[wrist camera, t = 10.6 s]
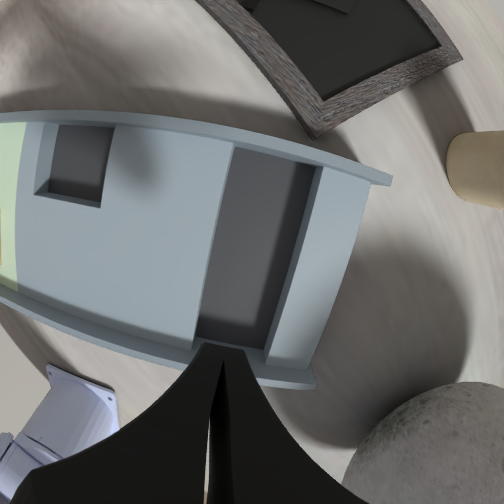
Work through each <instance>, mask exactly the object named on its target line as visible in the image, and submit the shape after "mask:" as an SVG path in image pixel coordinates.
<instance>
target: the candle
mask: <svg viewBox="0 0 504 504" xmlns="http://www.w3.org/2000/svg"><path fill="white" fill-rule="evenodd" d="M446 169H447V175H448V179H449V182H450V184H451V187H452V188H453V190H454V192H455V193H456V194H457V195H458V196H459V197H460V198H462V199H463V200H465V201H468V202H472V203H476V204H481V205H485V206H489V207H493V208H497V209H501V210H504V131H486V132H473V133H463V134H460V135H458V136H456V137H455V138H454V139H453V140H452V141H451V143H450V145H449V147H448V151H447V156H446Z"/></svg>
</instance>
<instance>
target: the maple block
mask: <svg viewBox="0 0 504 504" xmlns="http://www.w3.org/2000/svg"><path fill="white" fill-rule="evenodd" d="M0 224H1V210H0ZM1 265H2V256H1V227H0V266H1Z"/></svg>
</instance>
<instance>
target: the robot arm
mask: <svg viewBox="0 0 504 504" xmlns="http://www.w3.org/2000/svg"><path fill="white" fill-rule="evenodd" d="M46 371H47V375H48V378H49V382H50V386H51V390H50V391H49V392H48V393H47V395H46V397H45V398H44V399H43V400H42V402H41V403H40V405H39V406H38V407H37V409H36V410H35V412H34V413H33V415H32V416H31V417H30V419H29V421H28V422H27V424H26V425H25V426H24V428H23V429H22V431H21V432H20V433H19V434H18V435H17V437H16V438H15V440H13V437H14V436H13V435H12V434H11V433H10V432H9V433H1V434H0V504H204V503H203V502H204V484H205V467H206V453H207V441H208V430H209V419H210V434H209V485H208V494H207V504H369V503H368V502H366V501H364V500H362V499H361V498H359V497H358V496H356V495H355V494H353V493H352V492H350V491H349V490H348V489H346V488H345V487H344V486H342V485H341V484H339V483H338V482H337V481H336V480H335V479H333V478H332V477H331V476H330V475H329V474H328V473H327V472H325V471H324V470H323V469H322V468H321V467H320V466H319V465H318V464H317V463H316V462H314V461H313V460H312V459H311V458H310V456H309V455H308V454H307V453H306V452H305V451H304V450H303V449H302V448H301V447H300V446H299V444H298V443H297V442H296V441H295V439H294V438H293V437H292V436H291V435H290V433H289V432H288V431H287V429H286V428H285V427H284V425H283V424H282V422H281V421H280V419H279V418H278V416H277V415H276V413H275V412H274V410H273V409H272V407H271V405H270V404H269V402H268V400H267V398H266V397H265V395H264V393H263V391H262V389H261V387H260V385H259V383H258V381H257V379H256V377H255V375H254V373H253V371H252V368H251V366H250V363H249V361H248V358H247V355H246V353H245V351H244V350H242V349H237V348H231V347H226V346H221V345H216V344H212V343H207V342H204V343H202V344H201V345H200V348H199V350H198V352H197V353H196V355H195V357H194V358H193V360H192V361H191V362H190V364H189V365H188V367H187V368H186V369H185V370H184V371H183V373H182V374H181V375H180V376H179V378H178V379H177V380H176V381H175V382H174V383H173V384H172V385H171V386H170V387H169V388H168V389H167V391H166V392H165V393H164V394H163V395H162V396H161V397H160V398H159V399H158V400H156V401H155V402H154V403H153V404H152V405H151V406H150V407H149V408H147V409H146V410H145V411H144V412H143V413H141V414H140V415H139V416H138V417H136V418H135V419H134V420H132V421H131V422H129V423H128V424H127V425H125V426H124V427H122V428H121V429H120V426H119V419H118V412H117V404H116V395H115V393H114V392H113V391H112V390H110V389H107V388H104V387H102V386H99V385H96V384H94V383H91V382H89V381H86V380H84V379H81V378H79V377H77V376H74V375H72V374H70V373H67V372H65V371H63V370H61V369H59V368H56V367H54V366H52V365H50V364H47V366H46ZM1 496H2V497H1ZM5 499H6V500H5ZM9 502H10V503H9Z"/></svg>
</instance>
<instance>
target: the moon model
mask: <svg viewBox="0 0 504 504" xmlns="http://www.w3.org/2000/svg"><path fill="white" fill-rule="evenodd" d="M341 485H342V486H344V487H345V488H346V489H348V490H349V491H350V492H352V493H353V494H355V495H356V496H358V497H359V498H361V499H362V500H364V501H366V502H368V503H369V504H504V389H503V388H500V387H498V386H495V385H492V384H487V383H482V382H460V383H452V384H447V385H443V386H440V387H437V388H433V389H431V390H428V391H426V392H423V393H421V394H419V395H417V396H415V397H414V398H412V399H410V400H408V401H407V402H405V403H403V404H402V405H400V406H399V407H397V408H396V409H395V410H393V411H392V412H391V413H390V414H388V415H387V416H386V417H385V418H384V419H382V420H381V421H380V422H379V423H378V424H377V425H376V426H375V427H374V428H373V429H372V430H371V432H370V433H369V434H368V435H367V436H366V438H365V439H364V440H363V441H362V443H361V444H360V446H359V447H358V449H357V450H356V452H355V454H354V455H353V457H352V459H351V461H350V463H349V465H348V467H347V469H346V472H345V475H344V478H343V481H342V484H341Z"/></svg>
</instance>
